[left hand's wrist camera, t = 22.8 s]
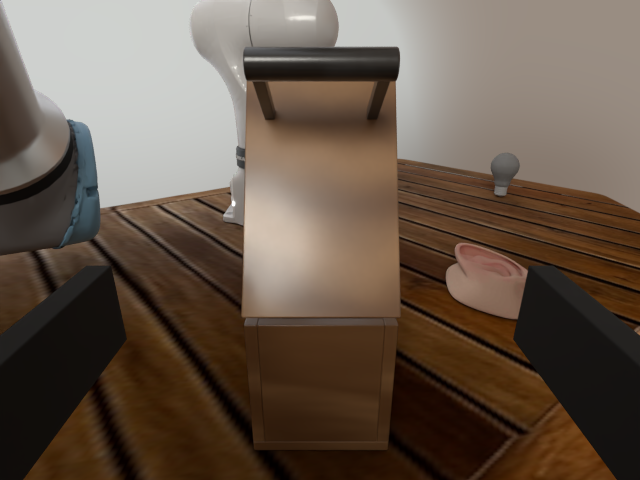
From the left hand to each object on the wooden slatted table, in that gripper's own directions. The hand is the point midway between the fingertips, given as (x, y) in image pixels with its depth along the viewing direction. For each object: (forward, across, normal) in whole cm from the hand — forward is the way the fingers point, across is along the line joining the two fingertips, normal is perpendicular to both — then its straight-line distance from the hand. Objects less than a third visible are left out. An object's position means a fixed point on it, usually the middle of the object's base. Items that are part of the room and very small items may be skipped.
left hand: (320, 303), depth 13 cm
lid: (+15, 0, -1) cm, 15 cm away
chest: (+19, 0, -19) cm, 27 cm away
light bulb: (+81, +42, -19) cm, 93 cm away
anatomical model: (+35, +22, -19) cm, 46 cm away
